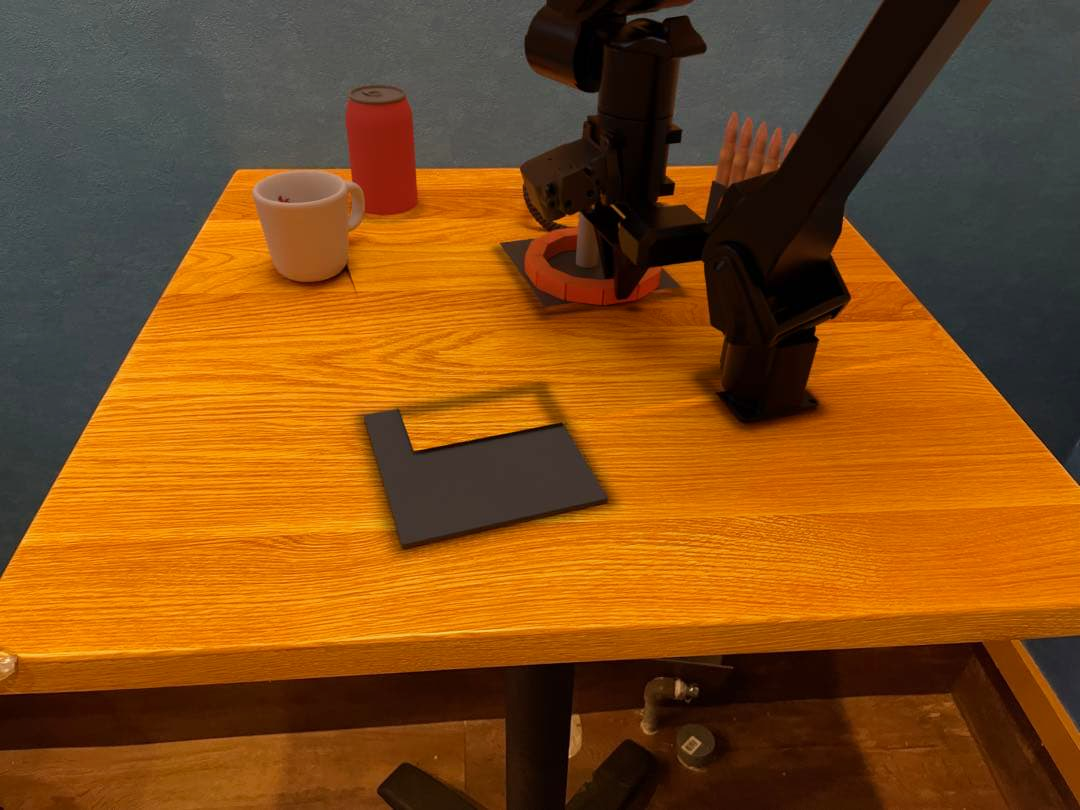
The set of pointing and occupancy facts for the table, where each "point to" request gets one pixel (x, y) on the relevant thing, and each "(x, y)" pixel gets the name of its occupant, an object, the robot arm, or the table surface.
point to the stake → (571, 262)
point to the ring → (574, 286)
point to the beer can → (382, 148)
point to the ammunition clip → (744, 158)
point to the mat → (478, 479)
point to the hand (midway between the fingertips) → (617, 293)
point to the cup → (308, 221)
